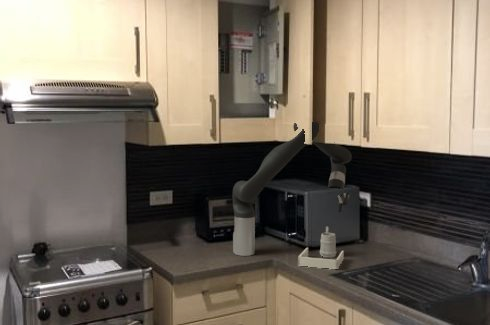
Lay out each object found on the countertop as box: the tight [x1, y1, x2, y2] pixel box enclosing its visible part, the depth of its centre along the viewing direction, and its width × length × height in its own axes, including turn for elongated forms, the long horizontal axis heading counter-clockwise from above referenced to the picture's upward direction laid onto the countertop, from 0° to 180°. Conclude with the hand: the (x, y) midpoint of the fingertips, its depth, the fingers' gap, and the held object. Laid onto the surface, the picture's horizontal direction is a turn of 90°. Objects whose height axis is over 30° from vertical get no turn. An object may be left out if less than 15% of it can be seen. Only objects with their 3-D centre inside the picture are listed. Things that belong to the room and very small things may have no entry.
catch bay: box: [297, 247, 345, 270], centre depth 232 cm, size 17×17×4 cm
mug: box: [319, 226, 338, 258], centre depth 245 cm, size 8×12×12 cm, turn 177°
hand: (332, 210), depth 253 cm, fingers open, 6 cm apart
